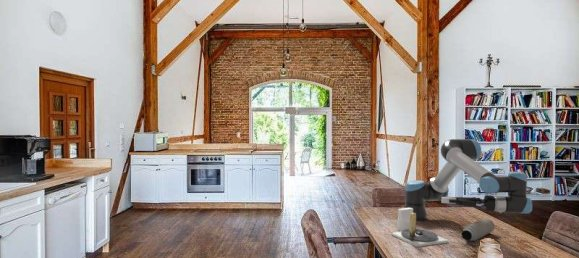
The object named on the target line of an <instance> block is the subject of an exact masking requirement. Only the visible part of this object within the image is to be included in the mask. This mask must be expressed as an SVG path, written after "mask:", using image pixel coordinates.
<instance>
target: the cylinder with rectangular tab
mask: <svg viewBox="0 0 579 258" xmlns="http://www.w3.org/2000/svg"><path fill="white" fill-rule="evenodd" d="M410 213H413V208H404V207H403V208H398V211H397V214H398V216H397V221H396V223H397V224H396V225H397V226H396V227H397V228H396V230H397V231H398V232H402V231H403V230H406V229H410Z"/></svg>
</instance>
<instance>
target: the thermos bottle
mask: <svg viewBox="0 0 579 258" xmlns="http://www.w3.org/2000/svg"><path fill="white" fill-rule="evenodd" d="M494 230H495V223H494V222H493V221H492V220H491V219H489V218H486V217H485V218H481V219H480V220H477V221H474V222H473V223H470V224H467V225H465V226H464V227H463V228H462V232H461V237H462V239H463V240H465V241H470V242H474V241H477V240H478V239H481V238H483V237H484V236H486V235H489V234H490V233H492V232H493V231H494Z"/></svg>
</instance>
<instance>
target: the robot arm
mask: <svg viewBox="0 0 579 258" xmlns="http://www.w3.org/2000/svg"><path fill="white" fill-rule="evenodd" d="M440 154H441V157H442V158H443V159H444V160H445V161H446V163H445V164H444V165H443V167H442V168H441V169H440V170H439V172H438V174H437V175H436V176H435V177H432V178H430V181H427V182H425V181H424V180H417V179H416V180H411V181H410V180H409V181H407V182H406V183H405V189H404V190H405V192H404V193H405V205H404V207H403V208H413V213H416V221H425V220H427V219H428V214H427V211H426V208H425V202H433V201H437V202H438V201H441V204H452V205H453V204H454V205H458V206H463V207H464V206H465V207H473V208H474V207H475V208H479V209H480V208H482V207H483V208H484V210H485V211H487V212H499V214H502V213H511V214H512V213H513V214H514V213H515V214H531V212H532V211H533V201H532V198H531V197H527V196H528V195H527V187H528V186H527V185H528V177H527V174H526V173H525V172H522V171H509V172H508V174H507V175H508V176H502V175H501V176H497V175H496V174H494V173H493V172H491V171H489V170H488V169H486V168H485V167H484V166H482V165H481V164H480V163H478V162H477V161H476V160H478V159H480V158H481V156H482V147H481V145H480V142H479V141H478V140H476V139H472V138H471V139H470V138H464V139H463V138H462V139H461V138H456V139H455V138H452V139H448V140H445V142H443V143H442V145H441V147H440ZM461 171H462V172H464V173H465V174H466V175H468V176H469V177H470V178H472V180H474V181H475V182H477V183H478V186H479V188H480V191H482V192H483V193H486V194H485V195H484V197H483V198H481V197H476V196H475V197H473V196H471V197H467V196H465V197H464V196H457V197H450V196H449V197H448V195H449V185H450V184H451V182H452V181H453V180H454V179H455V177H456V176H457V175H458V173H459V172H461ZM499 193H507V196H504V195H490V194H499ZM488 194H489V195H488Z"/></svg>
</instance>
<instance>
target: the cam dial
mask: <svg viewBox="0 0 579 258" xmlns="http://www.w3.org/2000/svg"><path fill="white" fill-rule="evenodd" d="M416 226H417V220H416V213H410V229H406V230H403V231H400V232H401V235H402V236H403V237H405V238H407V239H410V237H411V236H412V237H413V240H415V241H435V240H437V239H438V236H439V235H438V234H437V233H435V232H434V231H430V230H425V229H419V228H417V227H416Z"/></svg>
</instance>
